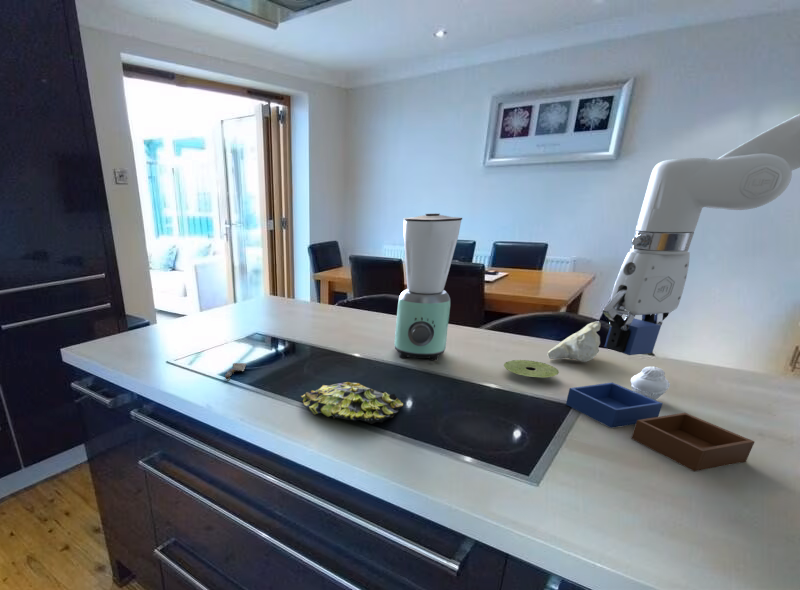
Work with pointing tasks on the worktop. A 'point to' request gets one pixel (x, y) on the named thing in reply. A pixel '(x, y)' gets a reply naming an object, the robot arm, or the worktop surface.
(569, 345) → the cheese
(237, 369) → the meat cleaver
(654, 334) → the blue block
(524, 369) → the green disc
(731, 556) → the worktop surface
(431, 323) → the blender
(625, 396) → the blue bin
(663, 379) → the muffin
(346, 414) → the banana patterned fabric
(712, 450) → the brown bin
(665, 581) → the worktop surface
